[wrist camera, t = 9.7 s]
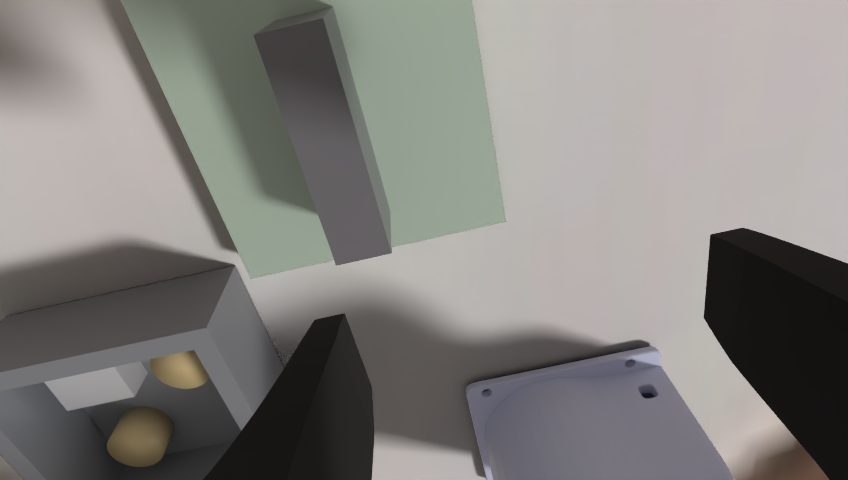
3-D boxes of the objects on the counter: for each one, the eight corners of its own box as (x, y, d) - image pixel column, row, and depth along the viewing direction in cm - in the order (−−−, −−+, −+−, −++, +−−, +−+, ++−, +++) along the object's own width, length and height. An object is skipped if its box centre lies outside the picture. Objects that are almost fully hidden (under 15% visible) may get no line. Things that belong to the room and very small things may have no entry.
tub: (235, 265, 21) (206, 327, 18) (311, 426, 26) (301, 500, 23) (5, 316, 22) (-66, 386, 18) (124, 465, 27) (85, 543, 23)
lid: (451, -83, 16) (475, -94, 12) (496, 201, 21) (525, 263, 17) (145, -6, 16) (64, 10, 12) (260, 254, 21) (230, 328, 17)
